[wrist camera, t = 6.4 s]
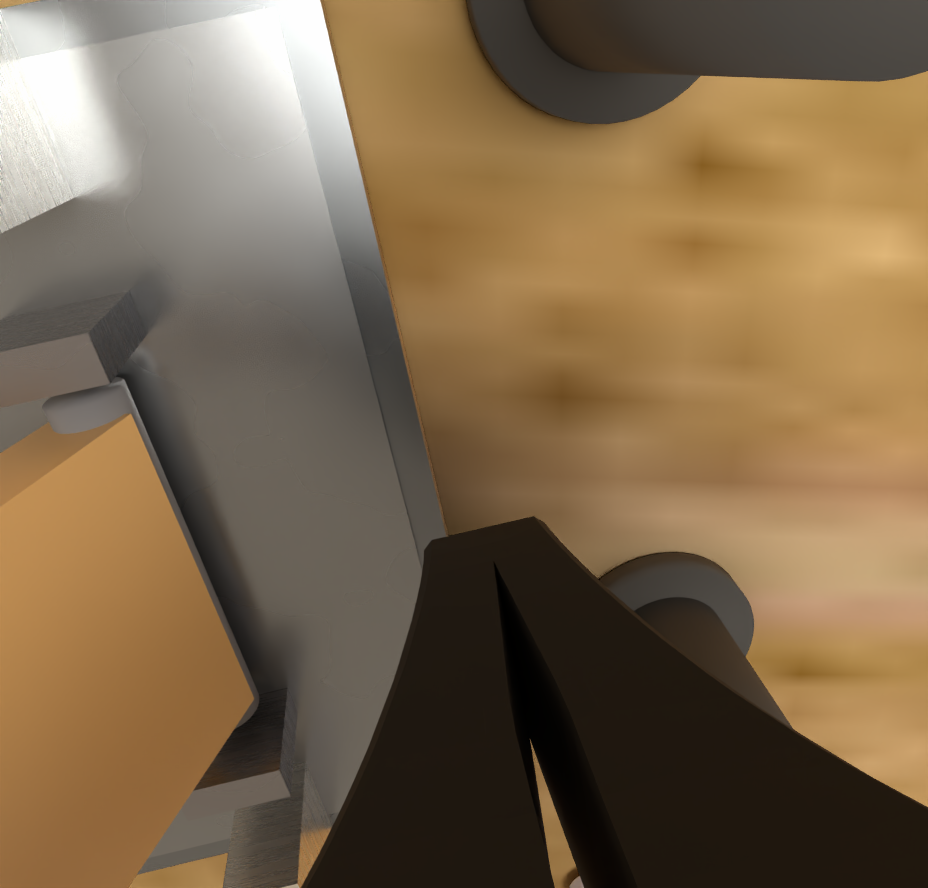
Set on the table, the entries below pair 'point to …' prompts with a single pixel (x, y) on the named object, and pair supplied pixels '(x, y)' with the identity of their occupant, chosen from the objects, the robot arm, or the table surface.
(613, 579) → the post
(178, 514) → the tan flat block
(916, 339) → the table surface
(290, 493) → the panel
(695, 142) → the table surface
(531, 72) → the cord post
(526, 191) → the table surface
